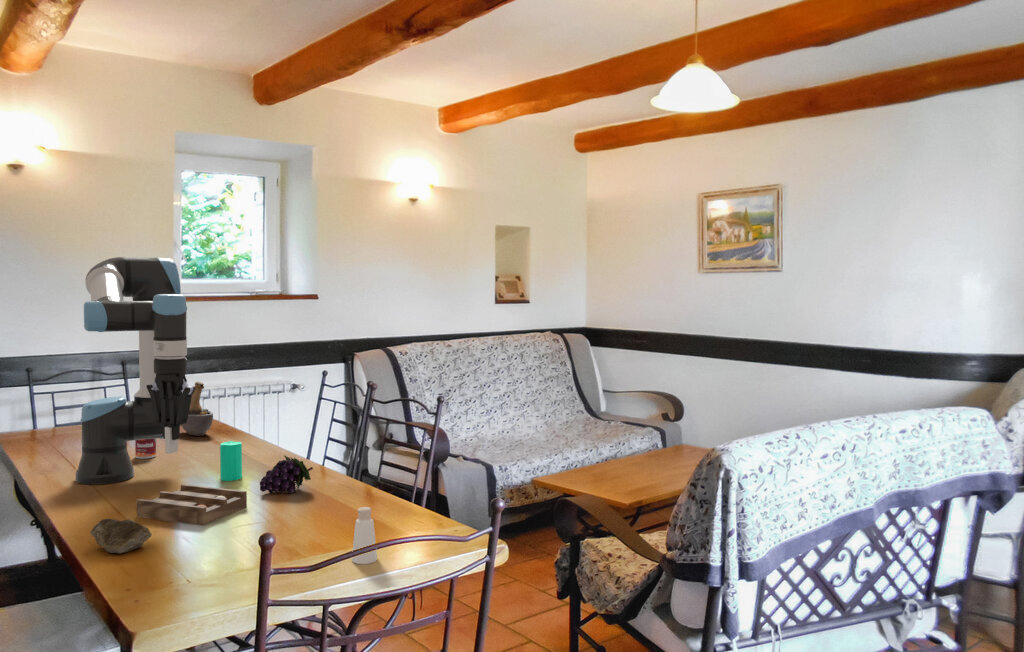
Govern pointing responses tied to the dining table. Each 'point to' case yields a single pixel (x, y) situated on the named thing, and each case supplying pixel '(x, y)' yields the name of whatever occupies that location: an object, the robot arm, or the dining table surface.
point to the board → (192, 504)
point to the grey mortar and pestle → (198, 415)
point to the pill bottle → (145, 448)
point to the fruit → (285, 476)
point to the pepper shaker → (364, 536)
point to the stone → (120, 535)
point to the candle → (230, 461)
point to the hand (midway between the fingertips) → (171, 452)
